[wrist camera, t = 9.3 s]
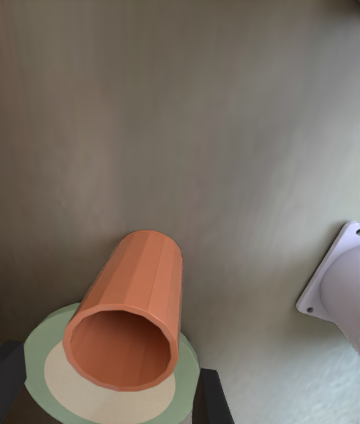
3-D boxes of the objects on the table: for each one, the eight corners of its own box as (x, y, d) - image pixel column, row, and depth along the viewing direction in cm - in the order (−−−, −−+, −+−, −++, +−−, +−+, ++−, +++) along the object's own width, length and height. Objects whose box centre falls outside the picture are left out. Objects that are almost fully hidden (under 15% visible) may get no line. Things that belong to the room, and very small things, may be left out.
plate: (226, 328, 21) (229, 342, 20) (170, 439, 26) (169, 456, 25) (40, 273, 20) (29, 283, 19) (20, 400, 25) (11, 415, 24)
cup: (193, 242, 18) (194, 325, 11) (171, 298, 20) (159, 403, 13) (122, 220, 18) (73, 289, 10) (106, 279, 20) (54, 375, 12)
